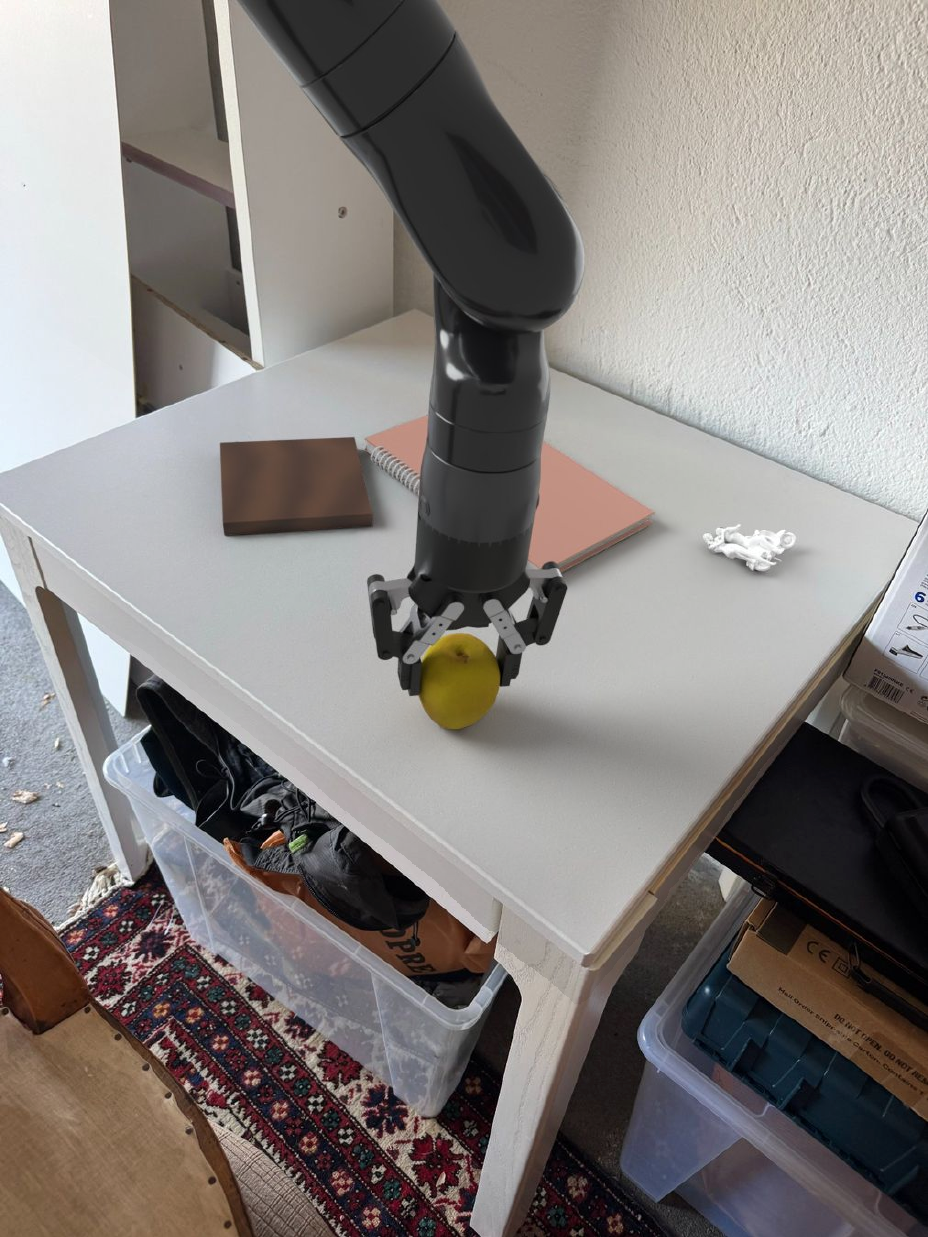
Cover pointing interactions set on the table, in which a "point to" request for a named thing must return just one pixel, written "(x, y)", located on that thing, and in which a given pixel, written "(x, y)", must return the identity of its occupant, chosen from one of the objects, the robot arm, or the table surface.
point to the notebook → (568, 504)
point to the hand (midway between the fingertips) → (456, 682)
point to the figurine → (751, 545)
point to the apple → (458, 680)
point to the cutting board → (292, 486)
